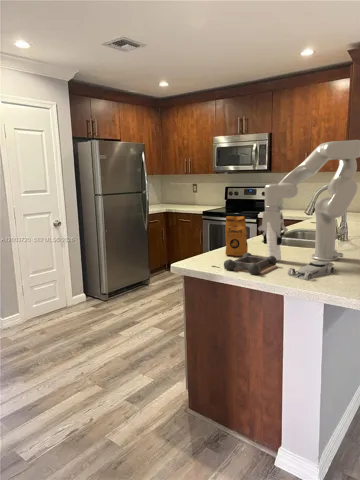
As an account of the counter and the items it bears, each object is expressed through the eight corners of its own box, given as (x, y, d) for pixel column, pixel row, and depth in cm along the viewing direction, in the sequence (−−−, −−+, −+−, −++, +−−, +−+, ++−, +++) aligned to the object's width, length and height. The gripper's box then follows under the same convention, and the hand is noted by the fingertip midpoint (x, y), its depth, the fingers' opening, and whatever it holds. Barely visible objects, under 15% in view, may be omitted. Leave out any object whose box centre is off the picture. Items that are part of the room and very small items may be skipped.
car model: (285, 276, 155) (285, 265, 154) (319, 267, 168) (320, 256, 167) (306, 282, 146) (307, 270, 145) (341, 271, 159) (341, 261, 158)
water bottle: (280, 258, 183) (276, 210, 180) (282, 260, 177) (278, 211, 174) (263, 259, 185) (259, 212, 182) (264, 261, 179) (260, 212, 176)
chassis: (278, 266, 169) (279, 256, 169) (259, 276, 155) (260, 265, 154) (242, 261, 182) (242, 251, 181) (222, 269, 168) (221, 259, 167)
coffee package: (245, 257, 190) (245, 217, 186) (223, 256, 195) (222, 216, 191) (249, 254, 198) (249, 215, 194) (228, 252, 204) (228, 214, 200)
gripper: (292, 208, 173) (292, 244, 177) (260, 207, 184) (260, 241, 188) (285, 210, 168) (285, 247, 171) (253, 209, 179) (253, 243, 182)
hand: (272, 243), depth 179 cm, fingers closed on water bottle, 6 cm apart
